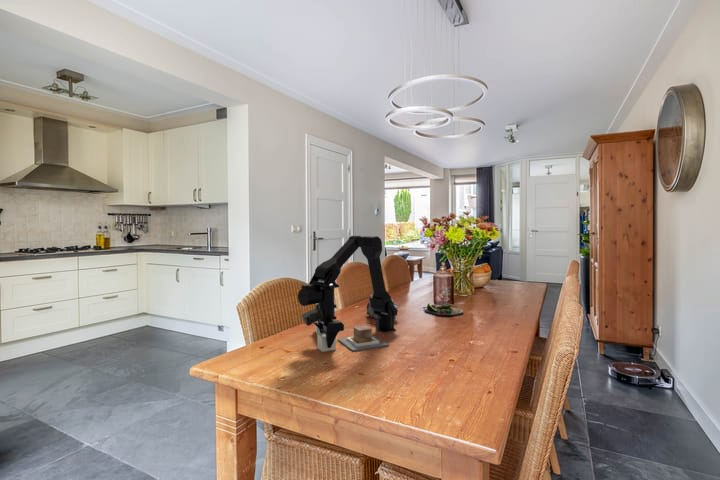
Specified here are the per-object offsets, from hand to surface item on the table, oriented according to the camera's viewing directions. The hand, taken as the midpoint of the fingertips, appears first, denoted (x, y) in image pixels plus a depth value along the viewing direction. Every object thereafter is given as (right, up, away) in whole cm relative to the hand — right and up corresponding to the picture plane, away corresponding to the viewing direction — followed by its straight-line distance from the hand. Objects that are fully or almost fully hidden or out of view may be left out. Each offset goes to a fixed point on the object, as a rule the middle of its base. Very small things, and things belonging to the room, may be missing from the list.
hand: (326, 345), depth 132 cm
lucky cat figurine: (+22, +1, +45) cm, 50 cm away
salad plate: (+52, +1, +54) cm, 75 cm away
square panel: (+13, -1, +6) cm, 14 cm away
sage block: (0, -1, 0) cm, 1 cm away
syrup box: (-4, +3, +22) cm, 23 cm away
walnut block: (+13, 0, +6) cm, 14 cm away
